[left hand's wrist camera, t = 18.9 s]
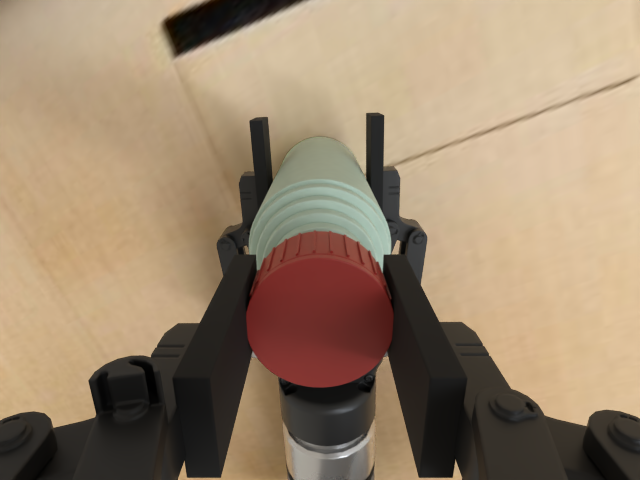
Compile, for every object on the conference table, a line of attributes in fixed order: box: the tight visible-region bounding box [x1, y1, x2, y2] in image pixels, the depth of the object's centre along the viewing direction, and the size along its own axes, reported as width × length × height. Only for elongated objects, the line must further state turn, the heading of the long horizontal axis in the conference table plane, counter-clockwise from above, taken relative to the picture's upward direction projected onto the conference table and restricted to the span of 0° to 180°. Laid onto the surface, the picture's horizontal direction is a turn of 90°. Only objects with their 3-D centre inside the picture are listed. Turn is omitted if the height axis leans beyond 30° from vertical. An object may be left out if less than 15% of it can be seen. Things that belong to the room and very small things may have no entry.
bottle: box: [249, 137, 391, 273], centre depth 23 cm, size 6×6×21 cm
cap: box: [246, 230, 394, 387], centre depth 14 cm, size 5×5×2 cm
